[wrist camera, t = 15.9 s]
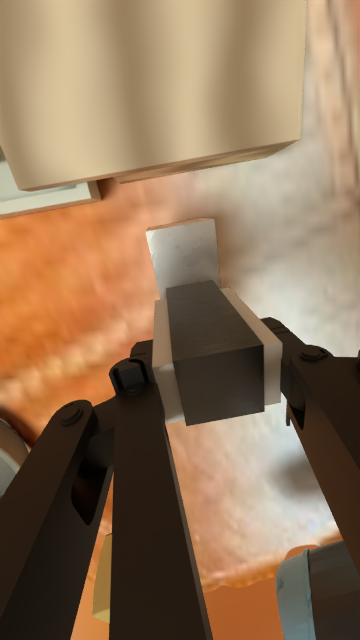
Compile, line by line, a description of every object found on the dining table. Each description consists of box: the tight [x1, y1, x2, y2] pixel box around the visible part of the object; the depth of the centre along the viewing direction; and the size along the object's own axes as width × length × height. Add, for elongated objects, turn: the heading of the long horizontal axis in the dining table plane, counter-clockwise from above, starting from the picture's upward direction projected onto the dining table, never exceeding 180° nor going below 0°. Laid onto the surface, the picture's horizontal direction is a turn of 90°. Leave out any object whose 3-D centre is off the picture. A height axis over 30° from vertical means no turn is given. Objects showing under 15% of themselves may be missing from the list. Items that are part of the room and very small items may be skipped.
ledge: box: [0, 0, 307, 192], centre depth 16 cm, size 19×10×6 cm, turn 99°
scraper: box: [146, 218, 264, 426], centre depth 14 cm, size 4×10×12 cm, turn 9°
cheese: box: [92, 534, 112, 623], centre depth 40 cm, size 10×11×10 cm
